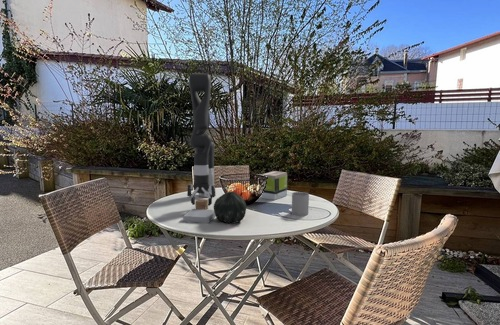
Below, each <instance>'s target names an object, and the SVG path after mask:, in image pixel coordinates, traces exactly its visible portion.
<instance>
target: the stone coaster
mask: <svg viewBox="0 0 500 325" xmlns="http://www.w3.org/2000/svg"><path fill="white" fill-rule="evenodd" d="M215 217H216V215H215V212H214V209H207V210H203V209H196V208H192V209H191V210H189V211H188V212H187V213H186V214H184V215H183V222H186V223H187V222H188V223H189V222H190V223H200V224H201V223H203V224H210V222H212V221H213V219H215Z"/></svg>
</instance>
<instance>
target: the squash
mask: <svg viewBox="0 0 500 325" xmlns="http://www.w3.org/2000/svg"><path fill="white" fill-rule="evenodd" d="M213 210H214V212H215V215H216V216H215V217H216V218H217V219H218V220H219V221H221V222H225V223H227V224H231V223H232V224H236V223H237V222H241V221H242V220H244V218H245V216H246V212H247V203H246V201H245V199H244V198H243V197H242V196H240V195H239V194H238V193H236V192H235V191H227V192H225V193H223V194H222V195H221V196H219V197H218V198H216V200H215V201H214V204H213Z"/></svg>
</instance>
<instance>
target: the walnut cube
mask: <svg viewBox="0 0 500 325" xmlns="http://www.w3.org/2000/svg"><path fill="white" fill-rule="evenodd" d="M194 205H195V209H203V210H209V206H208V198H206V199H205V198H198V199H197V200H195V204H194Z"/></svg>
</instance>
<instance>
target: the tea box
mask: <svg viewBox="0 0 500 325" xmlns="http://www.w3.org/2000/svg"><path fill="white" fill-rule="evenodd" d="M261 175H264V176H267V177H268V179H267V184H266V188H265V190H264V192H263V194H262V195H261V194H260V195H261V196H260V198H262V199H266V200H271V201H276V200H278V199H280V198H283V197H286V196H288V172H286V171H285V172H284V171H275V170H273V171H269V172H266V173H261V174H260V176H261Z"/></svg>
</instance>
